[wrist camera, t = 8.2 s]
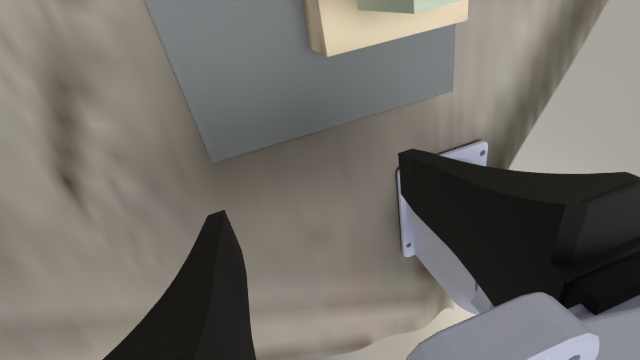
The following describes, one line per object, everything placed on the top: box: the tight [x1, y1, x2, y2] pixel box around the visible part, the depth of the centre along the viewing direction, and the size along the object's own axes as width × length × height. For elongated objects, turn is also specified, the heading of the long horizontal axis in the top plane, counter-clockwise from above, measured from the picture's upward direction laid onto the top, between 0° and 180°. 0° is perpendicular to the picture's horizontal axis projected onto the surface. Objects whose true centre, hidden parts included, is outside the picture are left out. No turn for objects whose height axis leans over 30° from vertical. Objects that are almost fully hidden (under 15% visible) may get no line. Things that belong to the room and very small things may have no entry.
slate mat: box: [145, 0, 455, 163], centre depth 18 cm, size 14×17×1 cm
